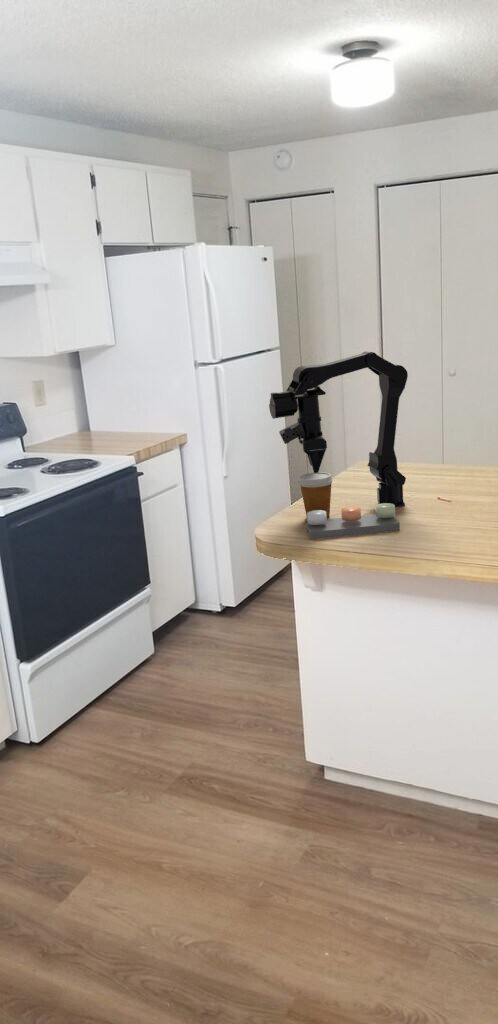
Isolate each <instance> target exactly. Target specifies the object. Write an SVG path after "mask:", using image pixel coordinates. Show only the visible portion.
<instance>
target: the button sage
mask: <svg viewBox="0 0 498 1024" xmlns="http://www.w3.org/2000/svg"><path fill="white" fill-rule="evenodd" d="M374 508H375V514H376V516H377V517H380V518H389V517H393V516H394V517H395V516H396V506H395V505H394V504H391V503H382V504H379V503H378V504H375V507H374Z"/></svg>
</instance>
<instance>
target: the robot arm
mask: <svg viewBox="0 0 498 1024" xmlns="http://www.w3.org/2000/svg"><path fill="white" fill-rule="evenodd" d="M363 369H368V370H370V371H371V372H372V373H374V374H375V375H376V376H378V383H379V384H378V385H379V388H380V389H379V390H380V392H381V407H380V416H379V426H378V428H379V429H378V437H377V445H376V448H375V449H374V452H371V451H369V453H368V456H369V457H368V463H367V465H366V466H368V467H369V472H370V474H371V475H373V476H374V477H375V478H376V479H375V480H376V481H377V482H378V488H376V496H377V502H378V504H382V503H391V504H394V505H395V507H401V506H405V505H406V503H405V502H404V485H405V483H406V480H407V478H406V476H405V475H403V474H402V473H401V472H400V471H399V470H398V459H397V456H396V451H395V444H396V443H395V441H396V434H397V422H398V413H399V412H398V411H399V406H400V405H399V403H400V397H401V396H402V394H403V392H404V390H405V388H406V385H407V381H408V376H409V375H408V373H409V372H408V370H406V368H405V367H404V366H402V365H400V364H394V363H392V362H391V361H389V360H387V359H385V358H383V357H381V356H380V355H378V354H377V353H376V352H373V351H363V352H362V353H359V354H355V355H351V356H349V357H345V358H342V359H338V360H334V361H331V362H330V361H329V362H328V363H327V362H326V363H321V364H308V365H307V364H306V365H300V366H298V367H296V368H295V370H294V372H293V373H292V379H291V382H290V383H289V385H288V387H287V388H286V391H280V392H271V393H270V399H269V404H268V409H269V413H270V416H271V418H272V419H274V420H275V419H280V418H287V417H293V416H295V414H296V413H298V417H297V418H296V419H297V421H296V422H295V423H293V424H291V425H288V426H287V427H285V428H282V429H281V430H279V431H278V432H279V435H280V436H281V437H280V438H281V439H282V442H283V443H284V444H285V445H286V444H289V443H290V442H291V441H293V440H295V439H298V442H299V443H300V444H301V447H302V451H303V452H304V454H306V455H307V458H308V463H309V464H310V465H309V466H312V470H313V472H314V473H318V472H320V467H321V466H322V462H323V459H324V457H325V453H326V451H327V448H328V444H327V440H326V439H325V438H324V437H323V431H322V424H321V423H322V422H321V421H322V416H321V414H320V413H321V412H320V403H319V401H320V400H319V396H325V395H326V394H327V392H326V391H324V390H323V389H322V388H321V387H320V386H321V385H322V384H324V383H325V382H327V381H328V380H330V379H333V378H336V377H339V376H343V375H346V374H350V373H353V372H356V371H361V370H363Z"/></svg>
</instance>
